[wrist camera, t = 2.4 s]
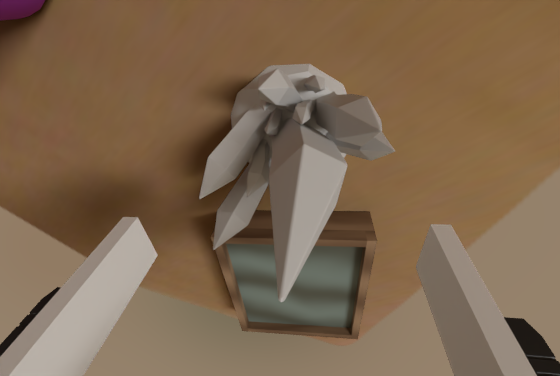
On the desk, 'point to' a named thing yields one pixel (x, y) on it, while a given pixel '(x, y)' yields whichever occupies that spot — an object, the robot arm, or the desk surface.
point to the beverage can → (18, 8)
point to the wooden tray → (301, 278)
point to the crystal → (290, 158)
